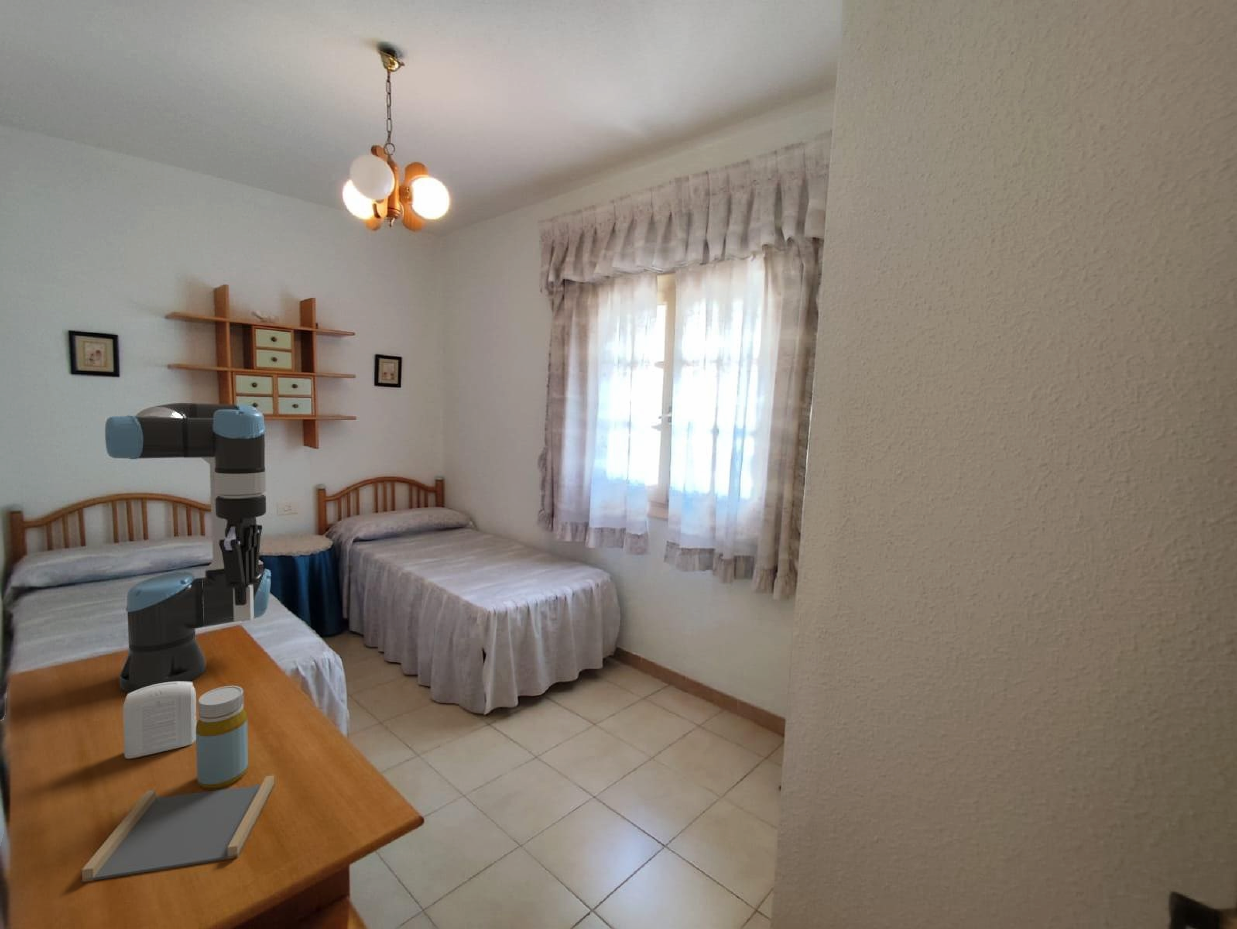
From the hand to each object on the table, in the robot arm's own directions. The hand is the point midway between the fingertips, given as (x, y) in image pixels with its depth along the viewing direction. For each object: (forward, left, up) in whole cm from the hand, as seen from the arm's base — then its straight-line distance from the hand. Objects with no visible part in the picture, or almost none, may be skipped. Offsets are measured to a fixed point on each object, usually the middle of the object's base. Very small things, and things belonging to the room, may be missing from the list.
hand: (243, 619), depth 98 cm
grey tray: (+21, 0, -24) cm, 32 cm away
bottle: (+10, 0, -25) cm, 27 cm away
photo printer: (-1, -14, -25) cm, 28 cm away
